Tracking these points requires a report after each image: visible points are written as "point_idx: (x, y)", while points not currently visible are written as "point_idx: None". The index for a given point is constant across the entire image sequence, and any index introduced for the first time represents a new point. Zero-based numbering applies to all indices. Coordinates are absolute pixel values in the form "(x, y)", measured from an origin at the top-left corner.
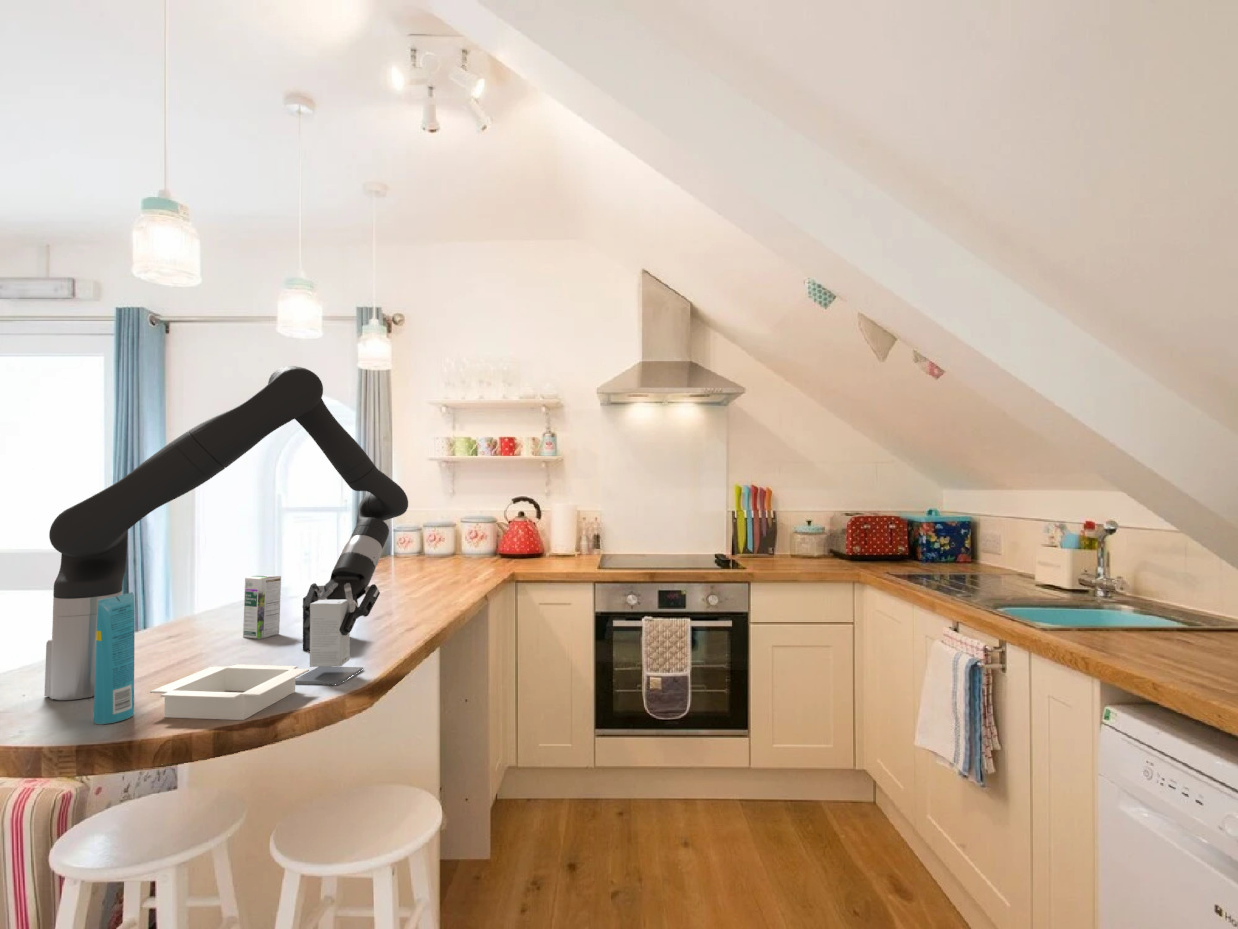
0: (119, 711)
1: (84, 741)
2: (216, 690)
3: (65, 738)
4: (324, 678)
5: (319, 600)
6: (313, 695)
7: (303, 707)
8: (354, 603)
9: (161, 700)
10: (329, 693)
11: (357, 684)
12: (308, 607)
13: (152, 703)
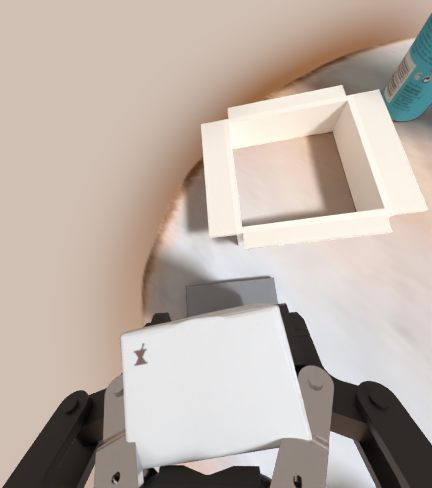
0: (386, 87)
1: (351, 64)
2: (358, 201)
3: (383, 61)
4: (222, 299)
5: (292, 409)
6: (199, 237)
7: (183, 196)
8: (105, 438)
9: (420, 167)
10: (180, 250)
11: (160, 298)
12: (357, 399)
13: (418, 155)
